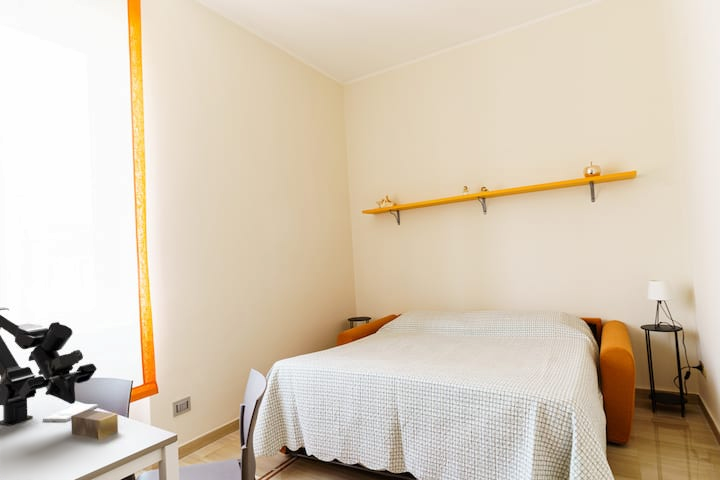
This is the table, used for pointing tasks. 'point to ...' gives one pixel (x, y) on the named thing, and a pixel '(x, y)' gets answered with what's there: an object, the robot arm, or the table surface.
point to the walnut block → (94, 424)
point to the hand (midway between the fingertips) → (73, 402)
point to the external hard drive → (69, 413)
